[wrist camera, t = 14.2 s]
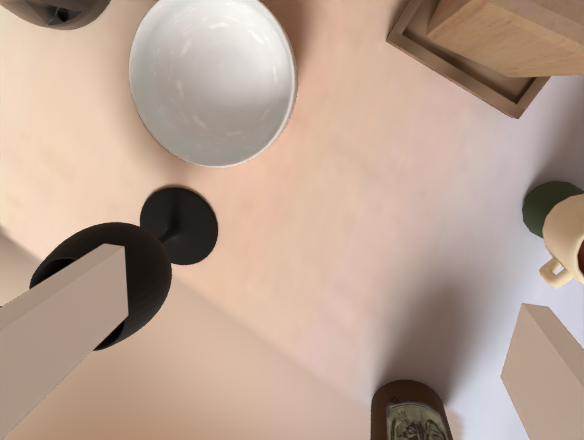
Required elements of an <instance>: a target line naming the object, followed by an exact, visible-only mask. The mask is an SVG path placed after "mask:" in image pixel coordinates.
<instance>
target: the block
mask: <svg viewBox="0 0 584 440" xmlns="http://www.w3.org/2000/svg"><path fill="white" fill-rule="evenodd" d="M426 36H427V37H428V38H429V39H430V41H431V42H433V43H435V44H438V45H440V46H442V47H444V48H446V49H448V50H450V51H453V52H455V53H457V54H459V55H461V56H463V57H465V58H468V59H470V60H472V61H474V62H476V63H478V64H481V65H483V66H485V67H487V68H489V69H491V70H493V71H496V72H498V73H500V74H502V75H504V76H506V77H516V78H517V77H541V76H564V75H584V0H440V2H439V4H438V6H437V8H436V10H435V12H434V14H433V16H432V18H431V20H430V22H429V24H428V26H427V33H426Z"/></svg>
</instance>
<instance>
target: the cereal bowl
mask: <svg viewBox="0 0 584 440" xmlns="http://www.w3.org/2000/svg"><path fill="white" fill-rule="evenodd" d="M128 72H129V84H130V90H131V95H132V99H133V102H134V105H135V108H136V110H137V113H138V115H139V117H140V119H141V121H142V122H143V124H144V126H145V127H146V129H147V130H148V131H149V133H150V134H151V135H152V137H153V138H154V139H155V140H156V141H157V142H158V143H159V144H160V145H161V146H162V147H163V148H164V149H166V150H167V151H168V152H170V153H171V154H173V155H174V156H176V157H178V158H180V159H182V160H184V161H186V162H189V163H191V164H195V165H199V166H204V167H211V168H223V167H231V166H235V165H239V164H241V163H244V162H247V161H249V160H250V159H253V158H255V157H257V156H258V155H259V154H261V153H262V152H264V151H265V150H266V149H267V148H269V147H270V146H271V145H272V144H273V142H275V141H276V140H277V138H278V137H279V136H280V134H281V133H282V132H283V130H284V129H285V127H286V125H287V124H288V121H289V119H290V117H291V114H292V112H293V109H294V105H295V102H296V97H297V90H298V89H297V88H298V73H297V64H296V59H295V55H294V51H293V49H292V45H291V43H290V40H289V38H288V36H287V34H286V32H285V30H284V28H283V27H282V25H281V23H280V22H279V21H278V19H277V18H276V17H275V15H274V14H273V13H272V12H271V10H270V9H269V8H268V7H267V6H266V5H265V4H263V3H262V2H261V1H260V0H158V1H157V2H156V3H155V4H154V5H153V6H152V7H151V8H150V9H149V11H148V12H147V13H146V15H145V16H144V17H143V19H142V21H141V23H140V25H139V26H138V28H137V31H136V33H135V36H134V39H133V42H132V46H131V50H130V56H129V67H128Z"/></svg>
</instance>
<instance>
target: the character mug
mask: <svg viewBox="0 0 584 440" xmlns="http://www.w3.org/2000/svg"><path fill="white" fill-rule="evenodd" d="M522 211H523V221H524V223H525V224H526V226H527V227H528V229H529V230H530V231H531V232H532V233H534V234H536V235H537V236H539V237H541V238H543V239H544V242H545V247H546V248H547V250H548V251H549V252H550V254H551V255H552V257H553V258H552V259H551V260H550V261H549V262H547V263H546V264H545V265H544V266H542V267H541V269H540V270H539V271H540V275H541V277H542V278H543V279H544V280H545V281H546V282H547V283H548V284H549V285H550V286H551V287H554V288H560V287H562V286H563V285H564V284H566V283H567V282H568V281H570V280H571V279H572V278H574V277H575V278H576V279H577V280H578V281H579V282H581V283H582V284H584V191H583V190H581V189H580V188H578V187H576V186H574V185H572V184H570V183H568V182H550V183H547V184H544V185H541V186H538V187H537V188H536V189H535V190H534V191H532V192H531V193H530V194H529V195H528V196H527V198H526V201H525V203H524V205H523V208H522ZM561 266H563V267H564V268H565V269H563V270H562V271H561V272H560V273H558V274H557V275H555V274H554V273H553V272H555V271H556V270H557V269H558V268H560V267H561Z"/></svg>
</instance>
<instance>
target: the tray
mask: <svg viewBox="0 0 584 440" xmlns="http://www.w3.org/2000/svg"><path fill="white" fill-rule="evenodd" d="M439 2H440V0H410V1H409V2H408V4H407V6H406V7H405V9H404V11H403V12H402V14H401V16H400V17H399V19H398V21H397V22H396V24H395V26H394V28H393V29H392V31H391V33H390V34H389V36H388V38H387V39H386V42H388V43H389V44H391V45H393V46H394V47H396V48H398V49H399V50H401V51H402V52H404V53H406V54H407V55H409V56H411V57H412V58H414V59H416V60H417V61H419V62H421V63H422V64H424V65H425V66H427V67H429V68H430V69H432V70H434V71H435V72H437V73H439V74H440V75H442V76H444V77H445V78H447V79H448V80H450V81H452V82H453V83H455V84H457V85H458V86H460V87H462V88H463V89H465V90H467V91H468V92H470V93H471V94H473V95H475V96H476V97H478V98H480V99H481V100H483V101H485V102H486V103H488V104H489V105H491V106H493V107H494V108H496V109H498V110H499V111H501V112H503V113H504V114H506V115H508V116H509V117H511V118H516V119H519V118H520V116H521V115H522V114H523V112H524V111H525V110H526V108H527V107H528V106H529V105H530V103H531V102H532V101H533V99H534V98H535V97H536V95H537V94H538V93H539V91H540V90H541V89H542V87H543V86H544V85H545V84H546V82H547V81H548V80H549V78H550V77H551V76H541V77H517V78H516V77H506V76H504V75H502V74H500V73H498V72H496V71H493V70H491V69H489V68H487V67H485V66H483V65H481V64H478V63H476V62H474V61H472V60H470V59H468V58H465V57H463V56H461V55H459V54H457V53H455V52H453V51H450V50H448V49H446V48H444V47H442V46H440V45H438V44H435V43H433V42H431V41H430V39H429V38H428V37H427V36H426V33H427V26H428V24H429V22H430V20H431V18H432V16H433V14H434V12H435V10H436V8H437V6H438V4H439Z"/></svg>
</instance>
